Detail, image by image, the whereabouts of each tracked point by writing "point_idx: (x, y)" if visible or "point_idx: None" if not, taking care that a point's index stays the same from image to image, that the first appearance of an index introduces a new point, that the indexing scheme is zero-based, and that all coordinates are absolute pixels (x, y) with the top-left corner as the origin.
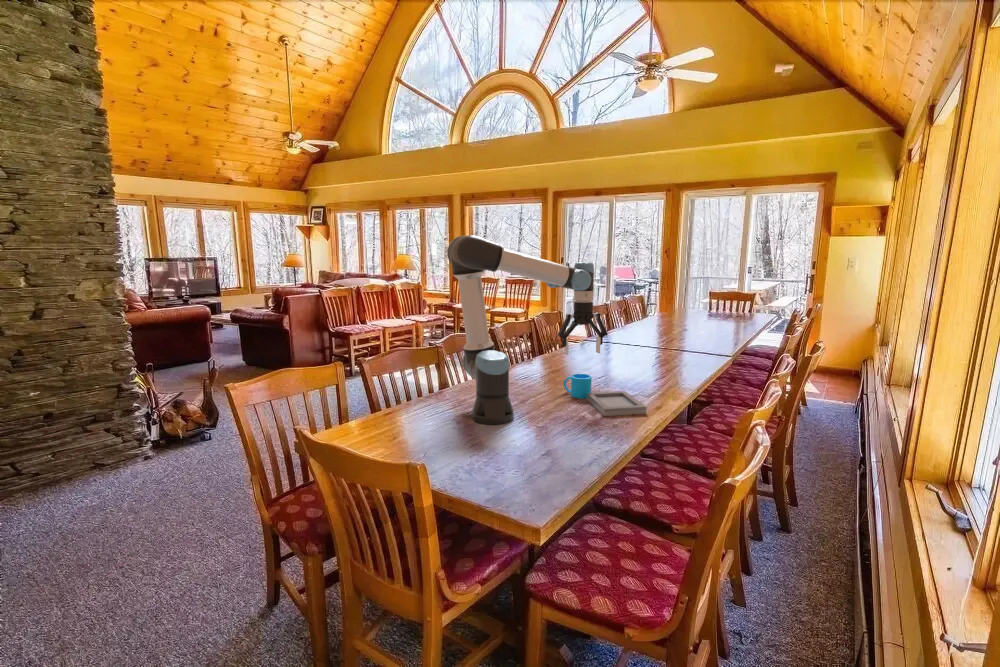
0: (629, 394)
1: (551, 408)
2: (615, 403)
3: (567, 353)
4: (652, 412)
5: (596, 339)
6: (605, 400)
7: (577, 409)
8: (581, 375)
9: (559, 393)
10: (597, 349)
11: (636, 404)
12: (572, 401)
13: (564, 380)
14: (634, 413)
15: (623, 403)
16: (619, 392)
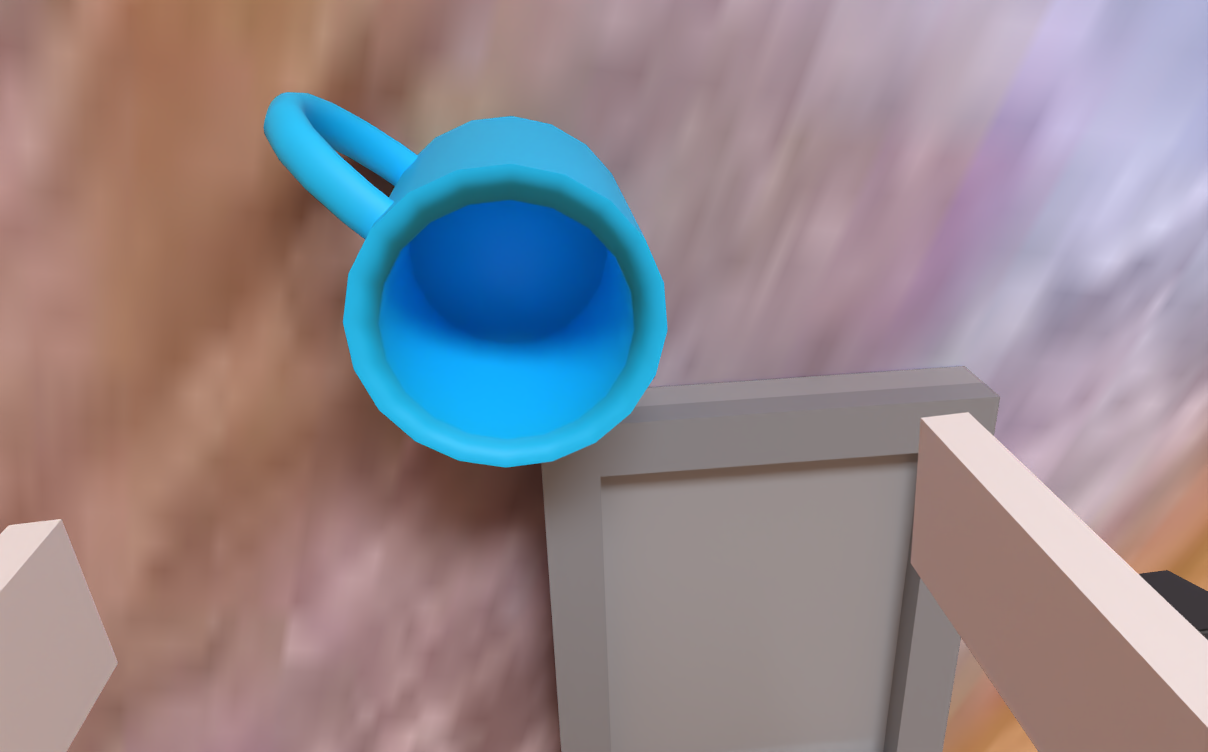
0: None
1: (121, 621)
2: (746, 647)
3: (80, 691)
4: (974, 734)
5: (1136, 671)
6: (687, 566)
7: (375, 654)
8: (540, 202)
9: (242, 126)
10: (953, 554)
11: (894, 737)
12: (366, 442)
13: (268, 137)
14: None
15: (818, 648)
16: (915, 438)
